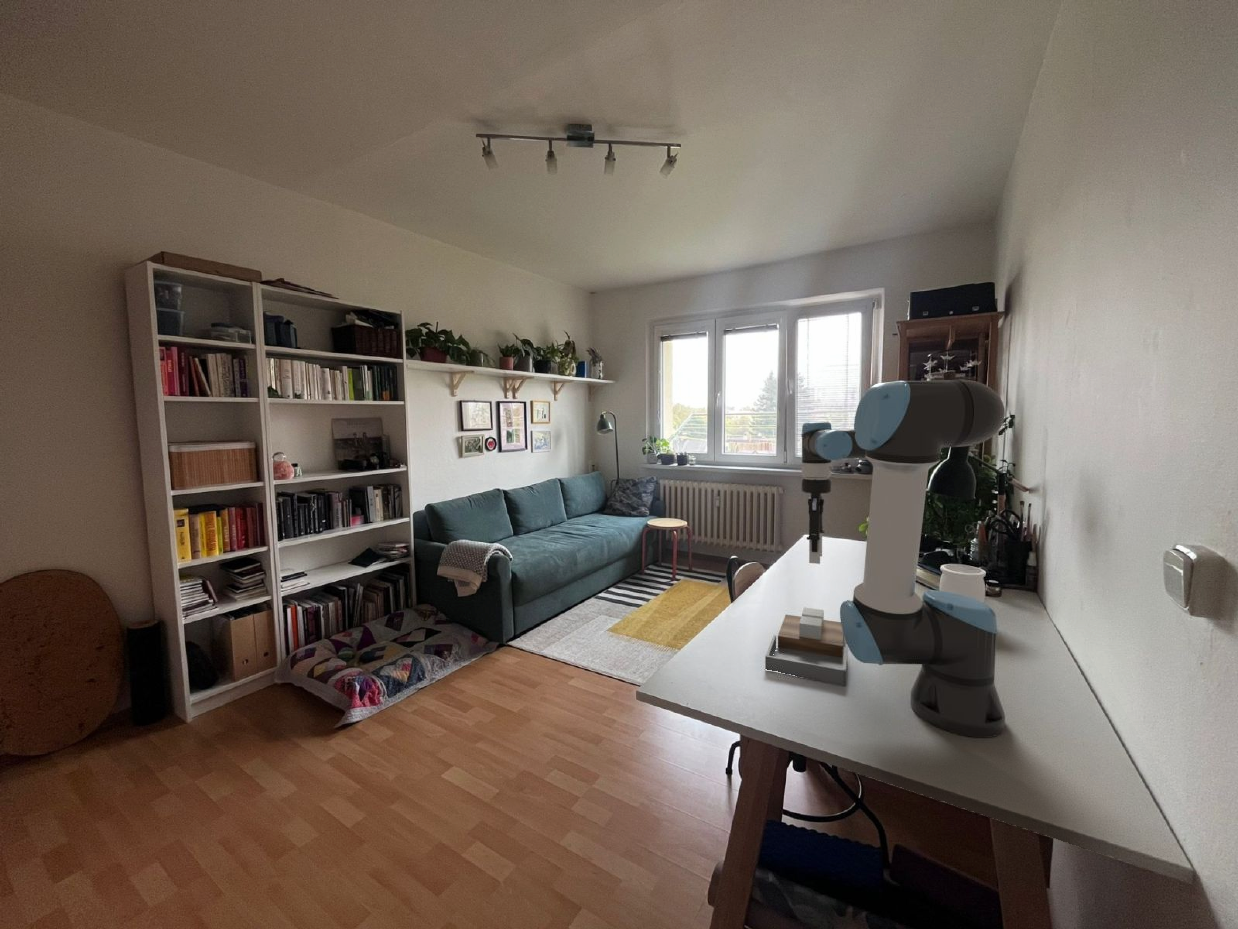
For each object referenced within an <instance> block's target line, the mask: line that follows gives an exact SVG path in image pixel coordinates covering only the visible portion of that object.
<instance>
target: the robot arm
mask: <svg viewBox="0 0 1238 929" xmlns="http://www.w3.org/2000/svg"><path fill="white" fill-rule="evenodd" d="M1005 410H1006V409H1005V405H1004V402H1003V399H1002V398H1001V397H1000V396H999V395H998V393H997V392H996V391H995V390H994V389H992V388H991V387H990V386H988V385H986V384H984V383H982V382H978V381H975V380H970V379H947V380H945V379H943V380H942V379H941V380H940V379H939V380H896V381H888V382H880V383H876V384H874V385H872V386H870V388H868V389H867V390H866V391H865V392H864V394H863V396H862V397H861V399H860V400H859V402H858V405H857V408H856V411H855V416H854V424H853V428H846V429H845V428H843V429H835V428H834V429H832V428H833V427H832V423H830V422H829V421H819V422H817V421H815V422H813V421H812V422H804V423H803V424H802V430H801V477H802V479H801V491H802V493H806V494H810V497H808V499H807V505H808V515H809V520H808V522H809V523H808V524H809V525H808V526H809V527H808V536H807V537H806V540H809V544H808V545H809V546H808V547H809V550H808V552H809V554H808V558H809V559H808V563H809V564H817V565H820V564H821V557H823V534H825V533H826V532H825V531H826V530H825V529H823V528H824V527H823V513H824V505H825V498H824V496H823V495H822V494H829V493H831V491H832V480H831V479H830V477H831V476H832V471H833V470H834V466H833V465H832V461H840V460H850V459H851V460H852V459H854V460H855V459H856V460H857V459H867V460H868V461H869V462H870V463H871V464H872V467H873V468H872V475H871V476H872V478H871V479H872V480H871V486H870V487H871V490H870V499H869V500H870V501H869V512H868V524H867V532H866V534H867V537H866V545H865V546H866V548H865V559H864V568H863V569H864V570H863V581H862V582H861V583H859V584H858V585H856V586H855V587H854V589H853V595H852V596H853V598H852V600H849V599H847V600H844V601H843V602H842V603H840V604H841V605H840V608H839V620H840V622H841V626H842V630H843V634H844V640H845V643H846V645H847V648H848V649H849V651H850V652H851V654H852V656H853V657H854V658H855V659H856V660H857V661H859V662H860V663H863V664H872V665H873V664H876V665H878V666H884V665H921V667H920V670H919V672H918V675H917V677H916V679H915V681H914V683H913V685H912V688H911V690H910V707H911V708H912V709H913V711H914V712H915V714H916V715H917V716H919V717H920V718H921V719H922V720H924V721H926V722H927V723H929V724H931V725H933V726H935V727H937V728H940V729H942V730H944V731H947V732H950V733H953V734H956V735H961V736H967V737H972V738H992V737H996V736H998V735H1000V734H1002V733H1003V732H1004V730H1005V727H1006V726H1005V725H1006V716H1005V715H1006V714H1005V710H1004V708H1003V705H1002V702H1001V700H1000V697H999V696H1000V695H999V694H998V691H997V688H996V685H995V684H996V683H995V673H996V672H995V671H996V652H997V651H996V649H997V648H996V646H997V634H998V632H999V631H998V626H997V615H996V613H995V610H994V609H993V608H992V607H990V606H989V605H988V604H986V603H985V602H984V603H983V602H981V601H978V600H976V599H973V598H970V597H967V596H964V595H960V594H956V593H951V592H946V591H940V590H936V589H935V590H934V589H931V590H930V589H929V590H926V591H925V592H923V594H922V596H921V597H920V596H919V595H918V594H917V593H916V592H915V589H916V581H917V580H916V579H917V572H918V564H919V554H920V547H921V540H922V538H921V537H922V529H923V519H924V512H925V511H924V510H925V502H926V496H927V495H926V494H927V485H928V476H929V471H930V469H931V468H932V467H934V466H935V465H937V464H938V463H940V461H941V452H942V448H956V447H957V448H958V447H960V448H961V447H968V446H969V447H971V446H974V445H978V444H981V443H984V442H986V441H987V440H990V439H991V438H992V437H993V436H996V434H997V433H998V432H999V430H1000V429H1001V427H1002V426H1003V424H1004V420H1005V415H1006V411H1005ZM831 470H832V471H831Z"/></svg>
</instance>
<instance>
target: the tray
mask: <svg viewBox="0 0 1238 929" xmlns="http://www.w3.org/2000/svg"><path fill="white" fill-rule="evenodd" d="M776 647H778V646H777V634H773V636H772V638H771V641H770V643H769V646H768V648H767V651H766V653H765V656H764V658H765V660H764V662H765V663H764V664H765V669H767V670H772V671H778V672H781V673H785V674H791V675H795V676H797V678H800V677H803V678H802V679H805V678H808V679H807V680H811V679H813V680H812V681H817V682H821V681H822V682H821V683H827V684H832V685H837V684H838V686H843V687H846V686H847V671H848V668H847V666H848V664H847V663H848V646H845V645H843V658H840V657H834V656H828V655H822V654H816V653H810V652H804V651H798V650H792V649H786V648H781V647H778V648H776ZM775 650H777V651H775ZM773 654H774V655H773ZM785 674H784V675H785ZM795 676H794V677H795Z"/></svg>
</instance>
